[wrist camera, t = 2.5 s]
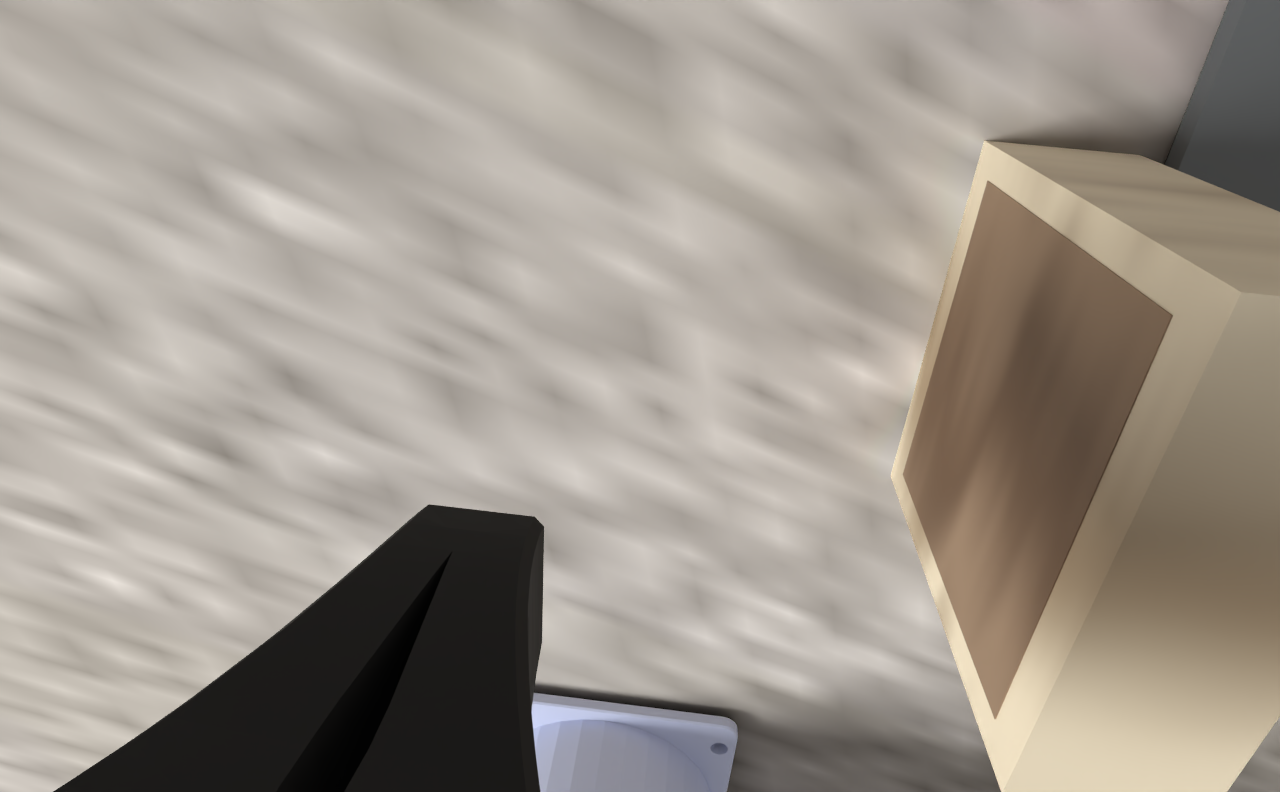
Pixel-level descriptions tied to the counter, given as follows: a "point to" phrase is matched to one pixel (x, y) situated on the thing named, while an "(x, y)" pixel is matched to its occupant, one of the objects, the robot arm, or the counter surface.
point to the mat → (1237, 107)
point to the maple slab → (1104, 471)
